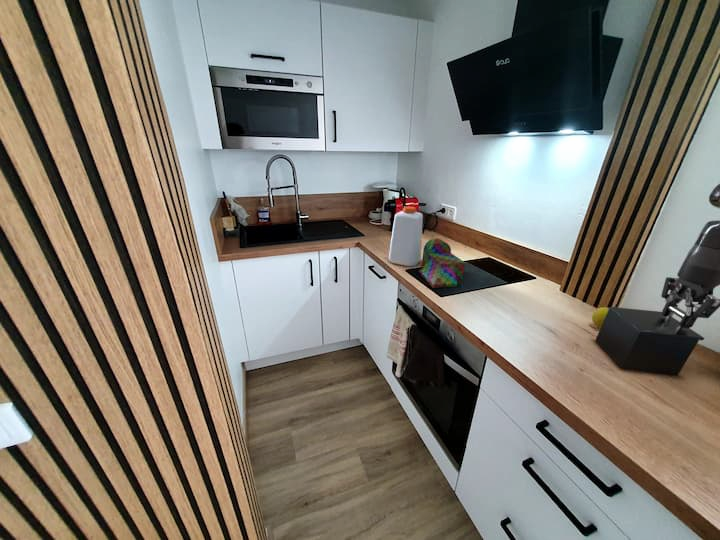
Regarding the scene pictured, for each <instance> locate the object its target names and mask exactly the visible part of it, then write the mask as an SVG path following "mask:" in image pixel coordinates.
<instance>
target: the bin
mask: <svg viewBox="0 0 720 540" xmlns="http://www.w3.org/2000/svg"><path fill="white" fill-rule="evenodd" d="M594 342H595V343H596V344H597V345H598V346H599V348H601V349H602V351H603V352H604V353H605V354H606V355H607V357H609V358H610V359H611V360H612V361H613V362H614V363H615V364H616V365H617V366H618V367H619V368H620V370H625V371H626V370H627V371H633V372H634V371H635V372H641V373H650V374H657V375H658V374H659V375H665V376H674V377H678V376H679V374H680V373H681V371H682V369H683V368H684V366H685V364H686V363H687V361H688V359H689V358H690V356H691V354H692V353H693V351H694V350H695V348H696V346H697V345H698V343H699V342H700V340H694V339H685V338H676V337H667V336H657V335H648V334H639V333H638V332H637V331H635V330H634V329H633V328H632V327H631V326H629V325H628V324H627V323H626V322H624V321H623V320H622V319H621V318H620V317H618V316H617V315H616V314H615V313H613V312H612V311H611V310H610V309H609V310H608V312H607V315H606V317H605V319H604V321H603V324H602V326H601V328H599V330H598V333H597V335H596V338H595V340H594Z"/></svg>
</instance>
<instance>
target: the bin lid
mask: <svg viewBox="0 0 720 540" xmlns="http://www.w3.org/2000/svg"><path fill="white" fill-rule="evenodd" d="M608 308H609V309H610V310H611V311H612V312H613V313H615V314H616V315H617V316H618V317H620V318H621V319H622V320H623V321H624V322H626V323H627V324H628V325H629V326H631V327H632V328H633V329H634V330H635V331H637V332H638V333H639V334H648V335H657V336H667V337H676V338H685V339H694V340H699V341H704V340H705V337H704V336H702V335H701V334H700V333H698V332H696V331H695V330H693V329H692V328H691V327H690V328H682V327H680V326H679V323H680V322H681V321H679V320H678V319H676V318H675V317H673V316H674V315H675V316H677V317H679V318H680V319H682V318H683V316H684V314H686V310H683V309H681V308H680V307H679V306H678V307H676V306H675V305H672V306H670V307H669V308H668V310H669V313H668V315H667V316H664V315H662V311H658V310H647V309H639V308H638V309H636V308H626V307H616V306H610V307H608Z"/></svg>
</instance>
